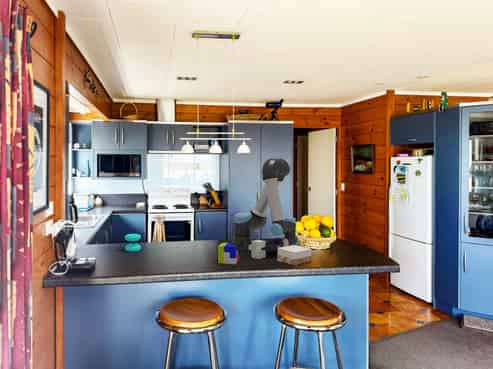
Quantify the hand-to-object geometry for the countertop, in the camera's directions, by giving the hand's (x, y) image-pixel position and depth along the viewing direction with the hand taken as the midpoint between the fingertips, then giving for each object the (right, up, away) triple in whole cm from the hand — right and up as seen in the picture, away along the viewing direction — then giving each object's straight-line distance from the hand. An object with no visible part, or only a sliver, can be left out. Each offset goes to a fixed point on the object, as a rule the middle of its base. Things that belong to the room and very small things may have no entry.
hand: (252, 248), depth 246 cm
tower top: (+24, -3, -5) cm, 25 cm away
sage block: (+3, -6, +4) cm, 8 cm away
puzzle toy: (-14, -7, -7) cm, 17 cm away
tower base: (+24, -7, -5) cm, 25 cm away
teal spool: (-77, -4, +20) cm, 80 cm away
